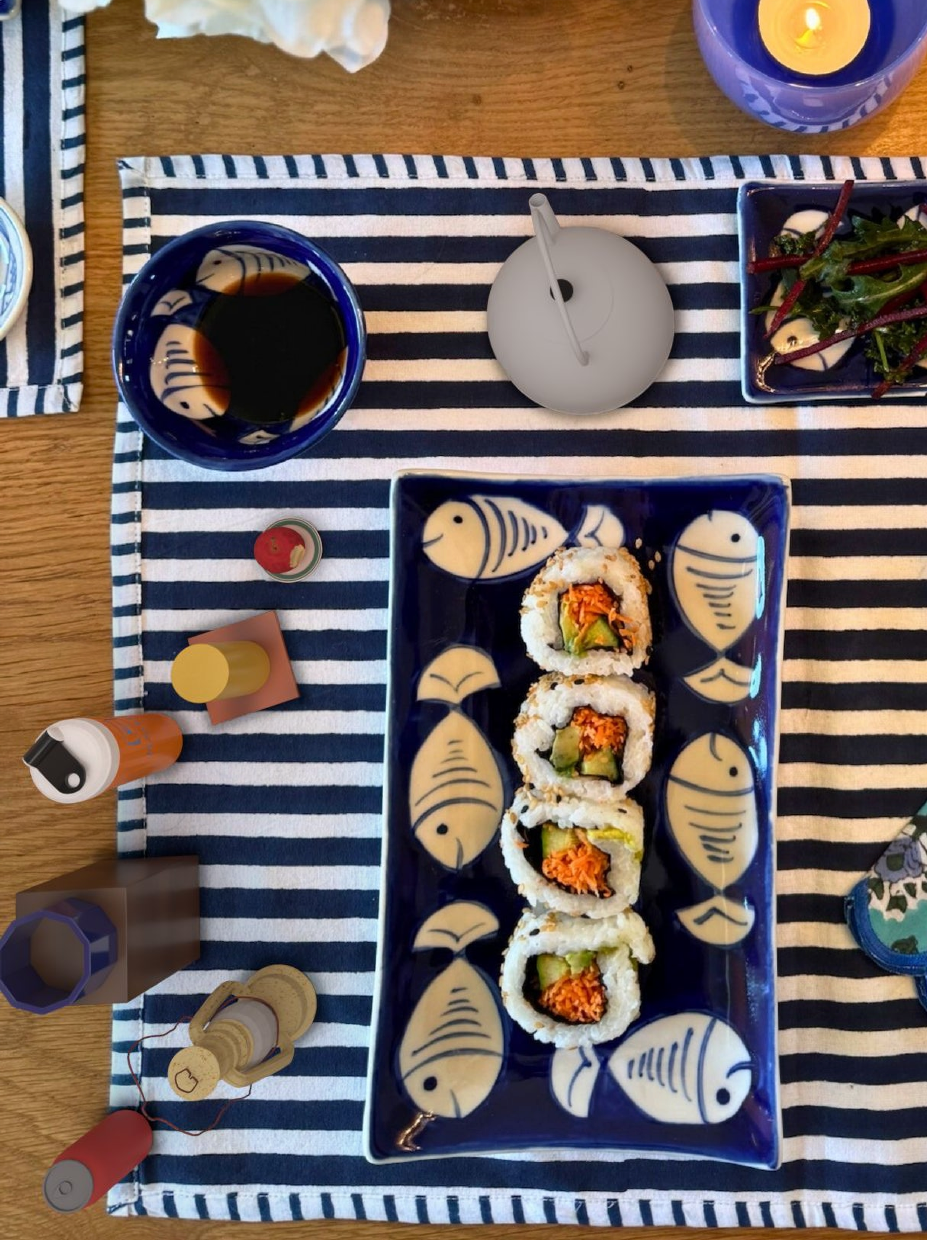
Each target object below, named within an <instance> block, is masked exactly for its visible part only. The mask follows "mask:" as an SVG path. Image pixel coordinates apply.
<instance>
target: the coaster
mask: <svg viewBox="0 0 927 1240" xmlns="http://www.w3.org/2000/svg"><path fill="white" fill-rule="evenodd" d="M231 641H251V642H254V643H256V644H258V645H259V646H261V647H262V648H263V649H264V651H265V652H266V653H267V655H268V658H269V661H270V673H269V676H268V679H267V681H266V682H265V684H264V685H263V686H262V687H261V688H260V689H259V690H258V691H256V692H254V693H252V694H249V695H245V696H239V697H233V698H227V699H222V700H216V701H210V702H205V705H206V710H207V712H208V716H209V719H210V723H211V726H217V725H220V724H223V723H225V722H228V721H231V720H234V719H238V718H241V717H243V716H247V715H249V714H253V713H256V712H259V711H262V710H265V709H267V708H270V707H273V706H276V705H280V704H282V703H285V702H289V701H292V700H295V699H298V698H300V697H301V694H300V690H299V687H298V684H297V680H296V677H295V673H294V670H293V666H292V663H291V660H290V656H289V652H288V649H287V645H286V642H285V638H284V635H283V632H282V628H281V624H280V621H279V618H278V614H277V611H276V610H270V611H268V612H265V613H261V614H259V615H255V616H252V617H250V618H247V619H243V620H240V621H238V622H234V623H231V624H228V625H225V626H222V627H219V628H216V629H213V630H210V631H207V632H204V633H201V634H198V635H195V636H192V637H189V638H187V642H188V645H189V646H191V645H195V644H202V643H217V642H231Z"/></svg>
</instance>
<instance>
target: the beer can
mask: <svg viewBox="0 0 927 1240" xmlns="http://www.w3.org/2000/svg"><path fill="white" fill-rule="evenodd" d="M152 1143H153V1130H152V1128H151V1126H150V1123H149V1121H148V1120H147V1118H146V1117H145V1116H144V1115H143V1114H142V1113H140V1112H138V1111H135V1110H131V1109H122V1110H117V1111H115V1112H112V1113H111V1114H109V1115H107V1116H106V1117H105V1118H103V1120H101V1121H100V1122H99V1123H97V1124H96V1125H94V1127H92V1128H91V1129H90V1130H88V1131H87V1132H86V1133H84V1134H83V1135H82V1136H81V1137H80V1138H78V1139H77V1140H75V1142H73V1143H72V1144H70V1145H69V1146H68V1147H67V1148H65V1149H64V1150H63V1151H61V1153H60V1154H59V1155H58V1156H56V1157H55V1159H54V1160H53V1162H52V1164H51V1165H50V1168H49V1169H47V1170H46V1173H45V1175H44V1176H43V1180H42V1183H41V1191H42V1192H41V1193H42V1197H43V1200H44V1201H45V1203H46V1205H47V1206H48V1207H49V1208H50V1209H51V1210H53V1211H54V1212H56V1213H59V1214H62V1215H70V1214H74V1213H76V1212H79V1211H81V1210H84V1209H86V1208H89V1207H90V1206H93V1205H94V1204H96V1203H97V1202H98V1201H99V1200H100V1199H102V1197H103V1196H105V1195H106V1193H108V1192H109V1191H110V1190H111V1189H112V1188H114V1187H115V1186H116V1185H117V1184H118V1183H119V1182H120V1181H122V1180H123V1179H124V1178H125V1177H126V1176H127V1175H129V1173H130V1172H132V1171H133V1170H134V1169H135V1168H136V1167H137V1166H139V1164H141V1162H142V1161H144V1160H145V1158H146V1157H148V1154H149V1152H150V1150H151V1147H152Z"/></svg>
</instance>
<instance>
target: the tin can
mask: <svg viewBox="0 0 927 1240" xmlns="http://www.w3.org/2000/svg"><path fill="white" fill-rule="evenodd" d="M269 673H270V661H269V658H268V655H267V653H266V652H265V651H264V649H263V648H262V647H261V646H259V645H258V644H256V643H254V642H251V641H231V642H217V643H202V644H195V645H191V646H190V645H189V646H187V647H185V648H184V649H183V650H181V651H180V652H179V653H178V654H177V655H176V657H175V658H174V660H173V662H172V664H171V668H170V680H171V684H172V688H173V689H174V690H175V692H176V693H177V694H178V696H179V697H181V698H182V699H184V700H185V701H186V702H189V703H194V704H203V703H204V704H206V702H210V701H216V700H222V699H227V698H233V697H239V696H245V695H249V694H252V693H254V692H256V691H258V690H259V689H260V688H261V687H262V686H263V685H264V684H265V682H266V681H267V679H268V676H269Z"/></svg>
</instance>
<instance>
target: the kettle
mask: <svg viewBox="0 0 927 1240" xmlns="http://www.w3.org/2000/svg"><path fill="white" fill-rule="evenodd" d="M528 204H529V209H530V213H531V214H530V216H531V222H532V226H533V230H534V234H535V235H534V236H532V237H531V238H529V239H527V240H526V241H525V242H524V243H522V244H521V245H519V246H518V247H517V248H516V249H515V250H514V251H513V252H512V253H511V254H510V255H509V256H508V257H507V258H506V260H505V261H504V263H503V264H502V266H501V267H500V268H499V270H498V272H497V274H496V275H495V278H494V280H493V283H492V285H491V289H490V292H489V294H488V299H487V300H488V301H487V307H486V327H487V333H488V339H489V343H490V346H491V348H492V351H493V354H494V356H495V358H496V360H497V362H498V364H499V366H500V367H501V370H502V371H503V372H504V373H505V375H506V376H507V377H508V379H509V380H510V381H511V383H512V384H513V385H514V386H515V387H516V388H517V390H519V391H520V392H521V393H522V394H524V395H525V396H526V397H527V398H528V399H530V400H532V401H533V402H534V403H535V404H538V405H539V406H542V407H543V408H546V409H549V410H551V411H555V412H558V413H561V414H564V415H565V414H567V415H574V416H591V415H598V414H603V413H608V412H610V411H613V410H616V409H619V408H621V407H623V406H625V405H628V404H629V403H631V402H632V401H633V400H635V399H637V398H639V397H640V396H641V395H642V394H643V393H644V392H645V391H646V390H648V389H649V387H650V386H651V385H652V384H653V383H654V382H655V381H656V380H657V378H658V377H659V375H660V374H661V372H662V371H663V369H664V367H665V365H666V363H667V361H668V359H669V357H670V353H671V350H672V347H673V343H674V337H675V323H676V322H675V311H674V305H673V302H672V299H671V298H672V297H671V295H670V292H669V289H668V287H667V285H666V283H665V281H664V279H663V278H662V275H661V274H660V273H659V271H658V269H657V268H656V267H655V265H654V263H653V262H652V261H651V260H650V259H649V258H648V256H647V255H646V254H645V253H644V252H643V251H642V250H641V249H639V248H638V247H637V246H636V245H635V244H633V243H632V242H630V241H629V240H628V239H625V238H624V237H622V236H620V235H619V234H616V233H614V232H611V231H608V230H606V229H602V228H598V227H593V226H586V225H567V226H561V225H560V223H559V221H558V219H557V216H556V214H555V212H554V211H553V208H552V206H551V205H550V202H549V200H548V198H547V196H546V195H545V194H543V193H539V192H538V193H534V194H532V196H531V197H530V198H529V200H528Z"/></svg>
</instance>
